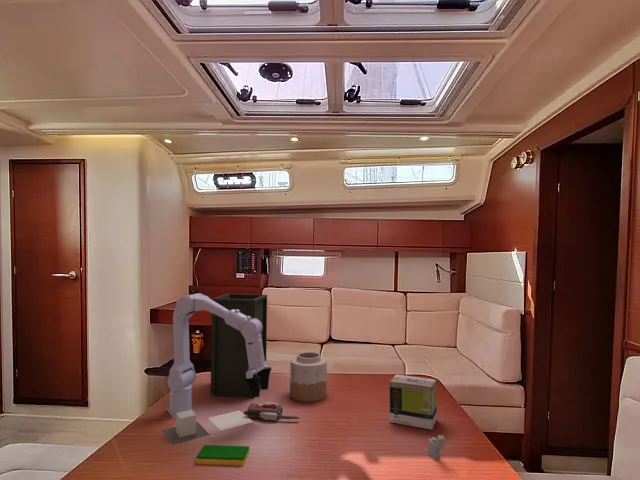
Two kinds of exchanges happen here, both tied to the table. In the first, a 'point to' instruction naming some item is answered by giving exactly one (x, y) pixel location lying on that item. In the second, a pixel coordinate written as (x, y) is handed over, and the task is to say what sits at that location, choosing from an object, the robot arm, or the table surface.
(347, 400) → the table surface
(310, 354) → the vase
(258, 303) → the dark green tall box
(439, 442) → the lighter
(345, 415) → the table surface
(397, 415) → the tea box
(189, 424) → the pale grey cube box
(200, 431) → the post base
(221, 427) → the mat
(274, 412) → the chainsaw
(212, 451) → the dish sponge
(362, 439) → the table surface
